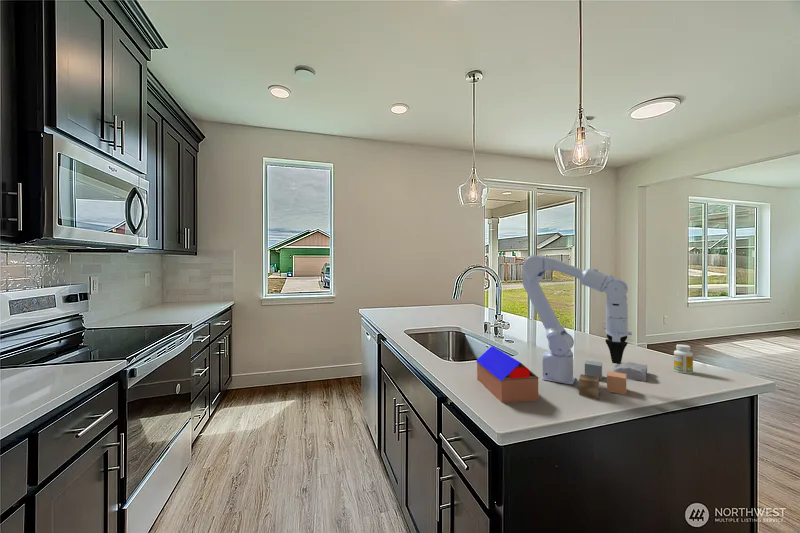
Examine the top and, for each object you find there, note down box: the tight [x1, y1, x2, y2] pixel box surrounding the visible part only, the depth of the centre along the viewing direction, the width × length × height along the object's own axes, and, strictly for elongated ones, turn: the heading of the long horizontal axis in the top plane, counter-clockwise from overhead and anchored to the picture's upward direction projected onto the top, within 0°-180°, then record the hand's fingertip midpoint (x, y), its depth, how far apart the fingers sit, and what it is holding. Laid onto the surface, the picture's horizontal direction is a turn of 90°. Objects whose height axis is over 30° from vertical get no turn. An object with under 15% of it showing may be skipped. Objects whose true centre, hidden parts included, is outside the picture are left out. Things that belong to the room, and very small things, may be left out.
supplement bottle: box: [673, 343, 694, 374], centre depth 122 cm, size 5×5×10 cm
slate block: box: [584, 359, 603, 381], centre depth 117 cm, size 5×5×5 cm
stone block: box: [613, 361, 648, 382], centre depth 119 cm, size 12×5×10 cm
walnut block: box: [578, 374, 600, 399], centre depth 102 cm, size 5×5×5 cm
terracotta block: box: [606, 370, 627, 395], centre depth 105 cm, size 5×5×5 cm
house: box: [475, 345, 540, 404], centre depth 107 cm, size 12×20×12 cm, turn 8°
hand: (616, 360), depth 105 cm, fingers open, 7 cm apart
